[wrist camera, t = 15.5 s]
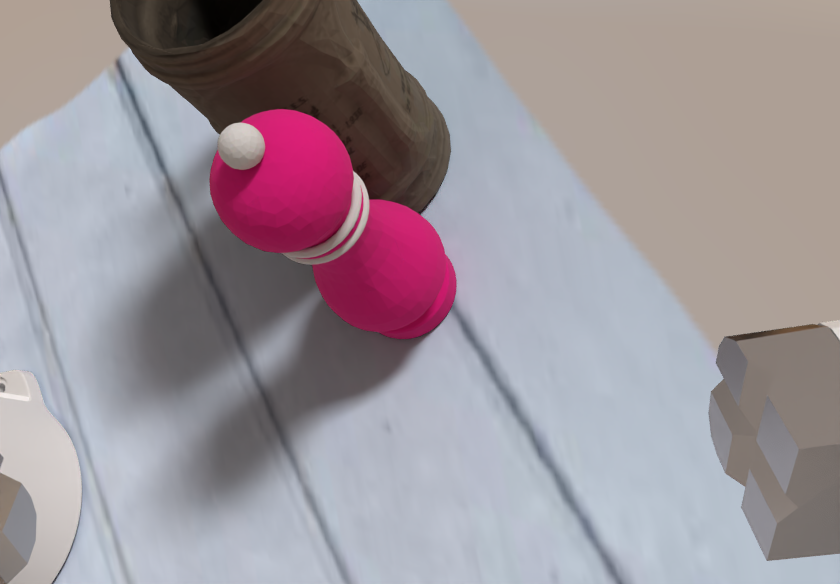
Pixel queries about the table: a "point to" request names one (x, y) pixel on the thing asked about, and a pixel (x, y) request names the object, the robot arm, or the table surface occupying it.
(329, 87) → the beer stein
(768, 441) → the robot arm
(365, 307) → the pepper mill
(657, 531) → the table surface
